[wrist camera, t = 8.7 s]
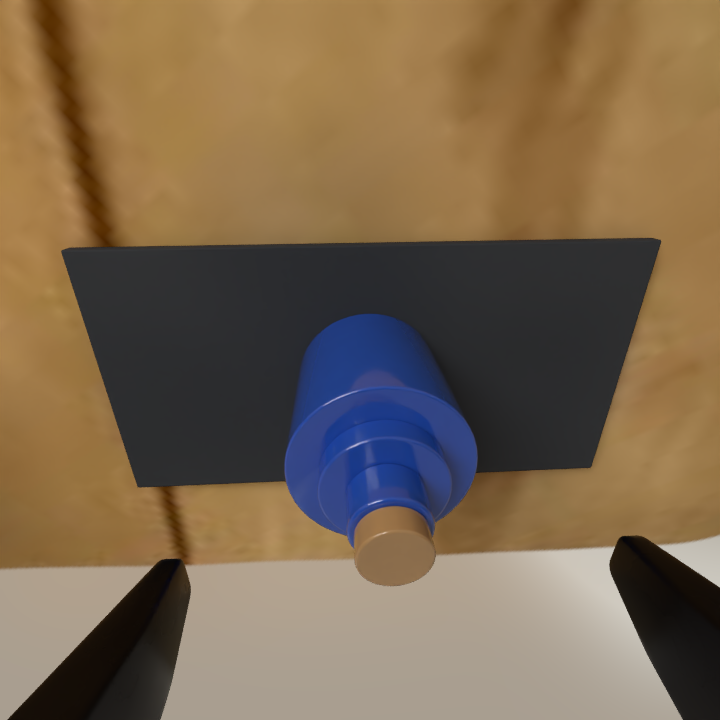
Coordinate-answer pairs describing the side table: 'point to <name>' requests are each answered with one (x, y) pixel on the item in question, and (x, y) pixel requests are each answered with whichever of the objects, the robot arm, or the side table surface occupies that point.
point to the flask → (378, 444)
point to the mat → (344, 299)
